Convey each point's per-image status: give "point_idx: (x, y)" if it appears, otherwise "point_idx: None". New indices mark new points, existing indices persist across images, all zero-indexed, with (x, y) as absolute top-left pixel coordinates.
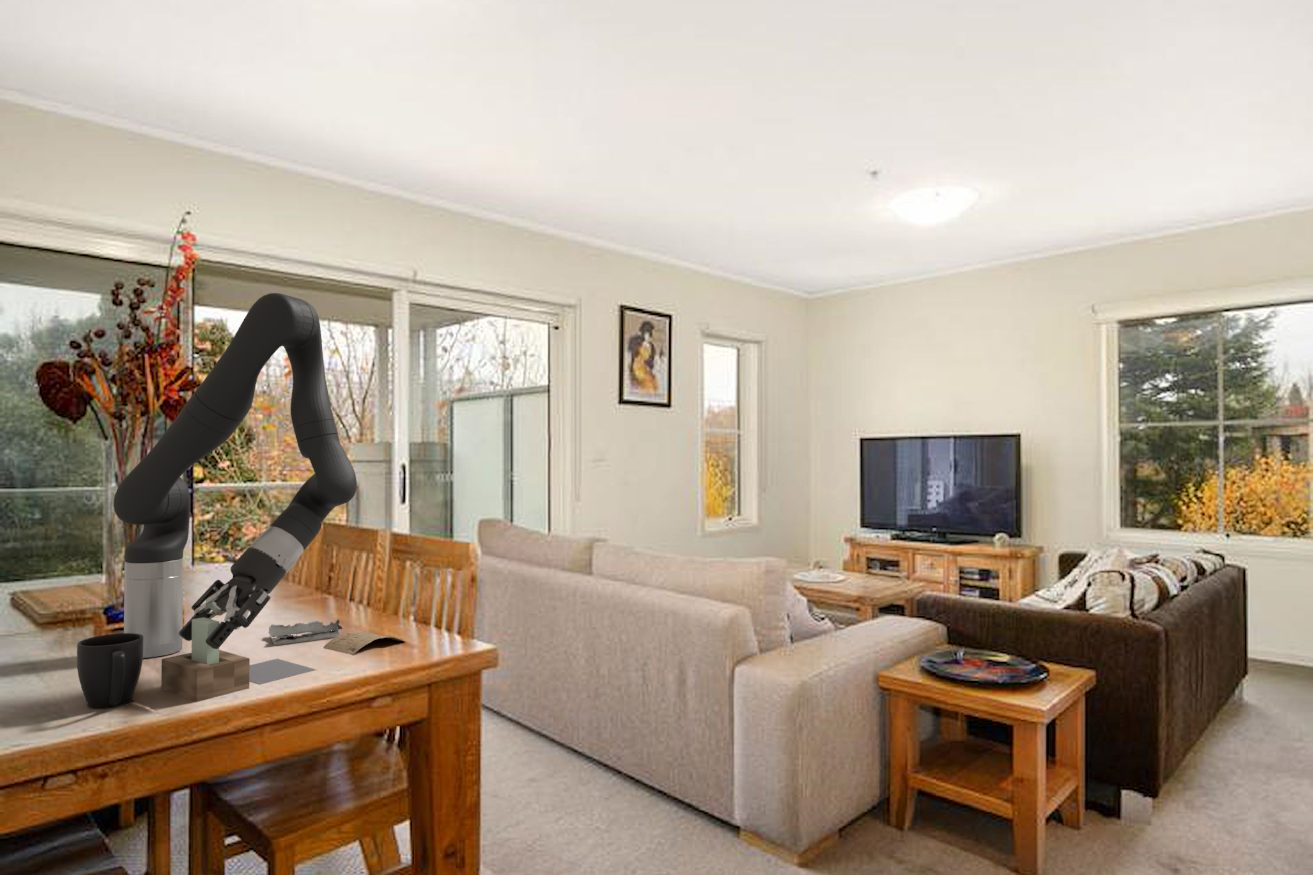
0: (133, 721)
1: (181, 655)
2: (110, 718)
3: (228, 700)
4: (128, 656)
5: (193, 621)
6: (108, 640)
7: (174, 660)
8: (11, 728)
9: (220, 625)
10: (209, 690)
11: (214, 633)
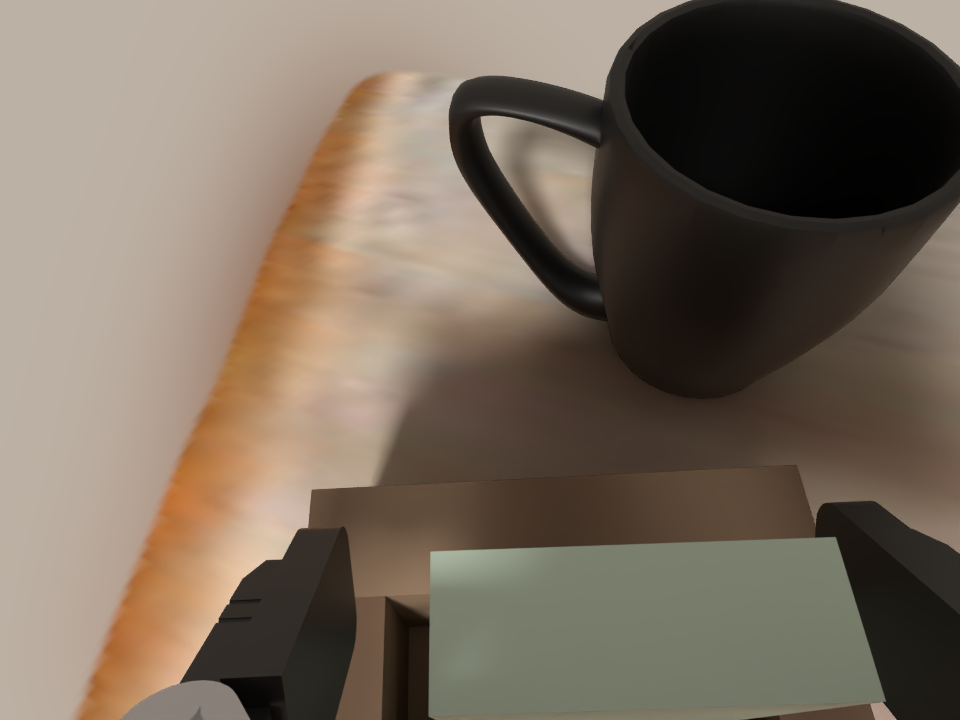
0: (357, 306)
1: None
2: (466, 272)
3: None
4: (603, 195)
5: (784, 544)
6: (944, 147)
7: (689, 501)
8: None
9: (252, 637)
10: None
11: (275, 574)
